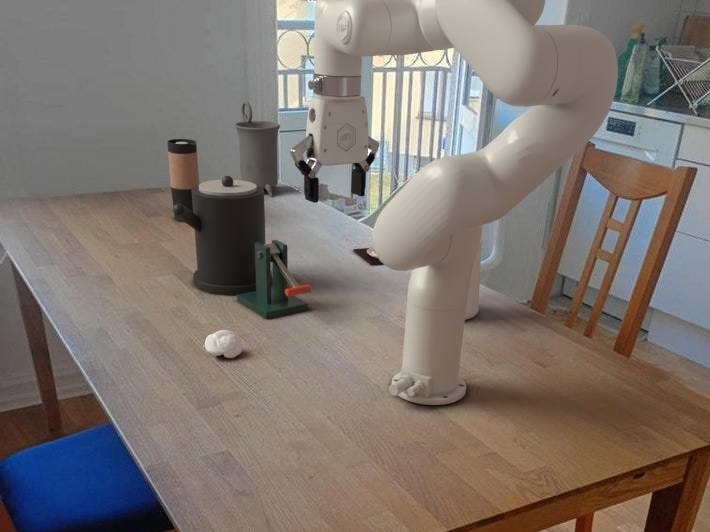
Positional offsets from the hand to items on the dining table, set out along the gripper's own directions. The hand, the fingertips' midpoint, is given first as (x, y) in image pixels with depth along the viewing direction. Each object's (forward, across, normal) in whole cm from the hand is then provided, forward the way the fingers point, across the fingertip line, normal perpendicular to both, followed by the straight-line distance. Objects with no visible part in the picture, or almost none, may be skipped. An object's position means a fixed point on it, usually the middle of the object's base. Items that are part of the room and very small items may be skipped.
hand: (335, 197), depth 135 cm
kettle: (+26, -2, +41) cm, 48 cm away
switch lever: (+19, 0, +18) cm, 26 cm away
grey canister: (+26, +50, +112) cm, 126 cm away
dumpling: (+26, -20, +5) cm, 34 cm away
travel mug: (+26, +15, +92) cm, 97 cm away
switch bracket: (+26, 0, +22) cm, 34 cm away
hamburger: (+26, +42, +38) cm, 62 cm away
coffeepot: (+26, +30, -1) cm, 40 cm away
